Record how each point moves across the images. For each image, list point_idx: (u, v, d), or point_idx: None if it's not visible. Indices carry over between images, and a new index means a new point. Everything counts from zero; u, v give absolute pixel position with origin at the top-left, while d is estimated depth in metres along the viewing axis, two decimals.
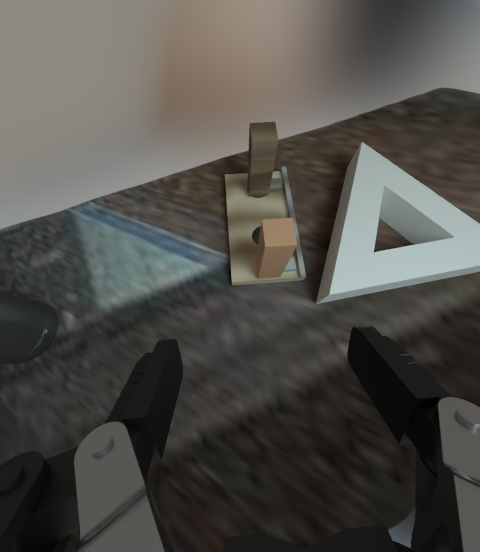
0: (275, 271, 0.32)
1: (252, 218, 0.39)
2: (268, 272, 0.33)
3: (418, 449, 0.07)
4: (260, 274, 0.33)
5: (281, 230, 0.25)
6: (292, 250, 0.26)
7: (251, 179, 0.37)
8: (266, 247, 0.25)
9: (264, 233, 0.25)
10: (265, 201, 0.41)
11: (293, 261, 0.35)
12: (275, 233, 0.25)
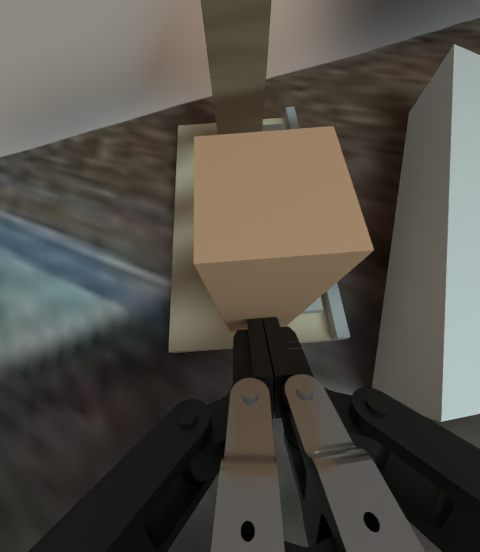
0: None
1: None
2: None
3: (284, 435, 0.07)
4: (232, 327, 0.13)
5: (287, 181, 0.05)
6: (335, 275, 0.06)
7: (218, 113, 0.16)
8: (202, 265, 0.05)
9: (198, 194, 0.05)
10: None
11: None
12: (255, 192, 0.05)
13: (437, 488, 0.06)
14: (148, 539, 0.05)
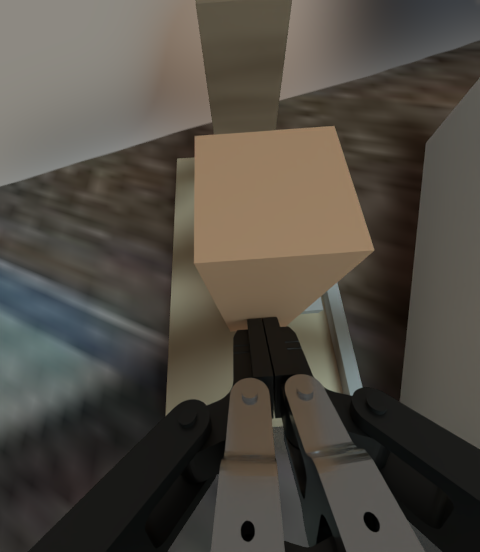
0: None
1: None
2: None
3: (284, 435, 0.07)
4: (232, 327, 0.13)
5: (287, 180, 0.05)
6: (335, 275, 0.06)
7: None
8: (203, 265, 0.05)
9: (199, 193, 0.05)
10: None
11: None
12: (256, 192, 0.05)
13: (437, 488, 0.06)
14: (148, 539, 0.05)
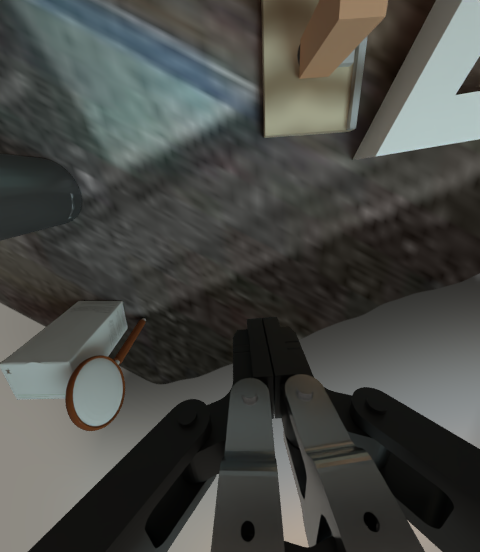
0: (328, 66, 0.24)
1: (302, 12, 0.25)
2: (317, 69, 0.25)
3: (284, 435, 0.07)
4: (305, 71, 0.25)
5: None
6: (372, 27, 0.18)
7: None
8: (339, 20, 0.17)
9: None
10: None
11: None
12: None
13: (437, 488, 0.06)
14: (148, 539, 0.05)
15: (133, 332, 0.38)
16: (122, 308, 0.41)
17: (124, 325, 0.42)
